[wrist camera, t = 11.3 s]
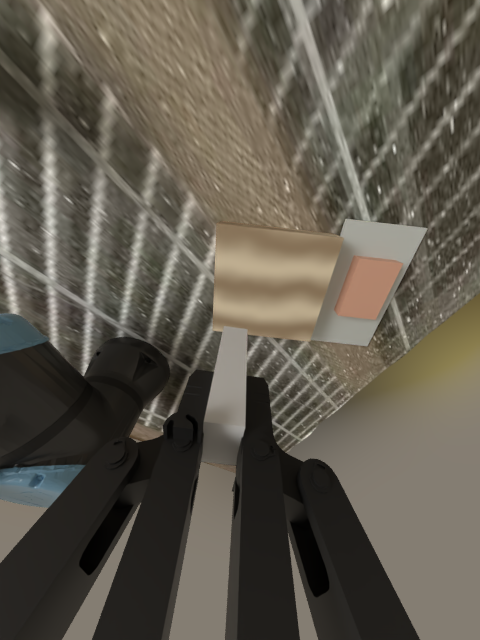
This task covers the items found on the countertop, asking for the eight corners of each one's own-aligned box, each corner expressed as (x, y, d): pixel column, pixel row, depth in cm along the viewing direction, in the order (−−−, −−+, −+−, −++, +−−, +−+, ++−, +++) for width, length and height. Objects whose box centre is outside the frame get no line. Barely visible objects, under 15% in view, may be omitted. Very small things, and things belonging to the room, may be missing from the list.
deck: (304, 328, 37) (309, 341, 34) (216, 318, 37) (212, 330, 34) (333, 233, 29) (344, 238, 26) (221, 220, 29) (216, 223, 26)
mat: (366, 345, 38) (367, 346, 38) (307, 338, 38) (307, 339, 38) (425, 227, 28) (427, 228, 28) (345, 218, 28) (346, 218, 28)
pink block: (338, 315, 33) (333, 309, 35) (375, 319, 33) (369, 313, 35) (359, 258, 28) (353, 255, 30) (403, 263, 28) (394, 259, 30)
